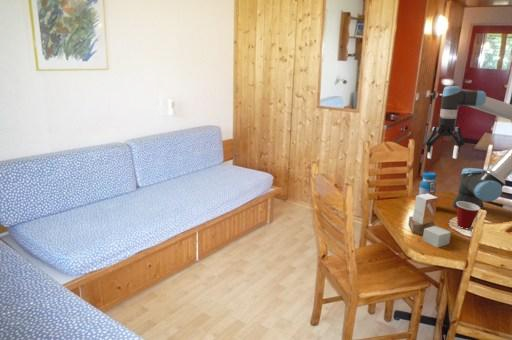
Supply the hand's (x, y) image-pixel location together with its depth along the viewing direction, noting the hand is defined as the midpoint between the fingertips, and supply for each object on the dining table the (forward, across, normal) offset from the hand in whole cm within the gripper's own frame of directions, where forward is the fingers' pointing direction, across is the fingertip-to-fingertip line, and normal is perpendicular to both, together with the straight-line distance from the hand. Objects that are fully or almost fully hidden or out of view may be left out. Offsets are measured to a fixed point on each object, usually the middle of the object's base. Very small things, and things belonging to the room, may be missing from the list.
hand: (441, 158), depth 200 cm
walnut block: (+32, -16, -18) cm, 40 cm away
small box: (+27, -15, -19) cm, 36 cm away
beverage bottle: (+32, +1, +12) cm, 34 cm away
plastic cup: (+32, +8, -16) cm, 37 cm away
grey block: (+32, -15, -32) cm, 48 cm away
